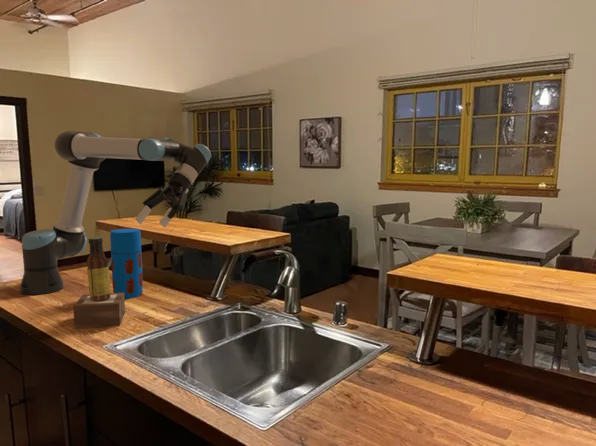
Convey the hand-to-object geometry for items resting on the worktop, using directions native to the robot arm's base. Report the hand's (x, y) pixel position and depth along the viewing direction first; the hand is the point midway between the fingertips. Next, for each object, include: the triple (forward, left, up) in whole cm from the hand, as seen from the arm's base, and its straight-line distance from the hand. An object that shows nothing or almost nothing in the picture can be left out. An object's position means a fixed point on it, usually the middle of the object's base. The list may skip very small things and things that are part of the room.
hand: (149, 223), depth 158 cm
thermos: (-17, -10, -30) cm, 36 cm away
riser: (+12, -15, -30) cm, 35 cm away
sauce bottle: (+12, -15, -23) cm, 30 cm away
